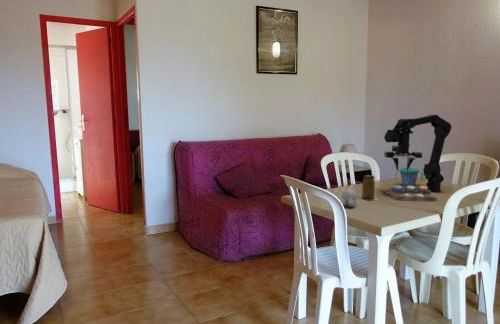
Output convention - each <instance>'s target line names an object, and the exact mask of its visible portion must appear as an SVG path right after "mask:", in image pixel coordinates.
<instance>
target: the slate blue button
mask: <svg viewBox="0 0 500 324" xmlns="http://www.w3.org/2000/svg"><path fill="white" fill-rule="evenodd" d="M393 188H394V189H395V190H402V188H403V185H399V184H398V185H394V186H393Z"/></svg>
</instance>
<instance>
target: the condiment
mask: <svg viewBox="0 0 500 324" xmlns="http://www.w3.org/2000/svg"><path fill="white" fill-rule="evenodd" d="M375 183H376V182H375V176H374V175H372V174H371V175H370V174H365V175H363V180H362V188H361V190H362V191H361V196H359V197H358V198H359V199H362V200H366V201H378V200H379V198H378V197H375Z"/></svg>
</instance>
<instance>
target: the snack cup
mask: <svg viewBox="0 0 500 324" xmlns="http://www.w3.org/2000/svg"><path fill="white" fill-rule="evenodd" d="M398 172H399V173H400V177H401V186H403V187H407V186H415V187H416V183H417V180H418V179H417V178H418V174H419V173H421V179H420V181H423V180H424V173H423V172H422V171H421V170H419V168H414V167H409V169H408V170H406V167H402V168H400V169H398V170H396V172H395V180H397V178H398V177H397V174H398Z"/></svg>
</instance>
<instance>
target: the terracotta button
mask: <svg viewBox="0 0 500 324" xmlns="http://www.w3.org/2000/svg"><path fill="white" fill-rule="evenodd" d="M418 188H419V190H428V187H427V186H426V185H419V187H418Z"/></svg>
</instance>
